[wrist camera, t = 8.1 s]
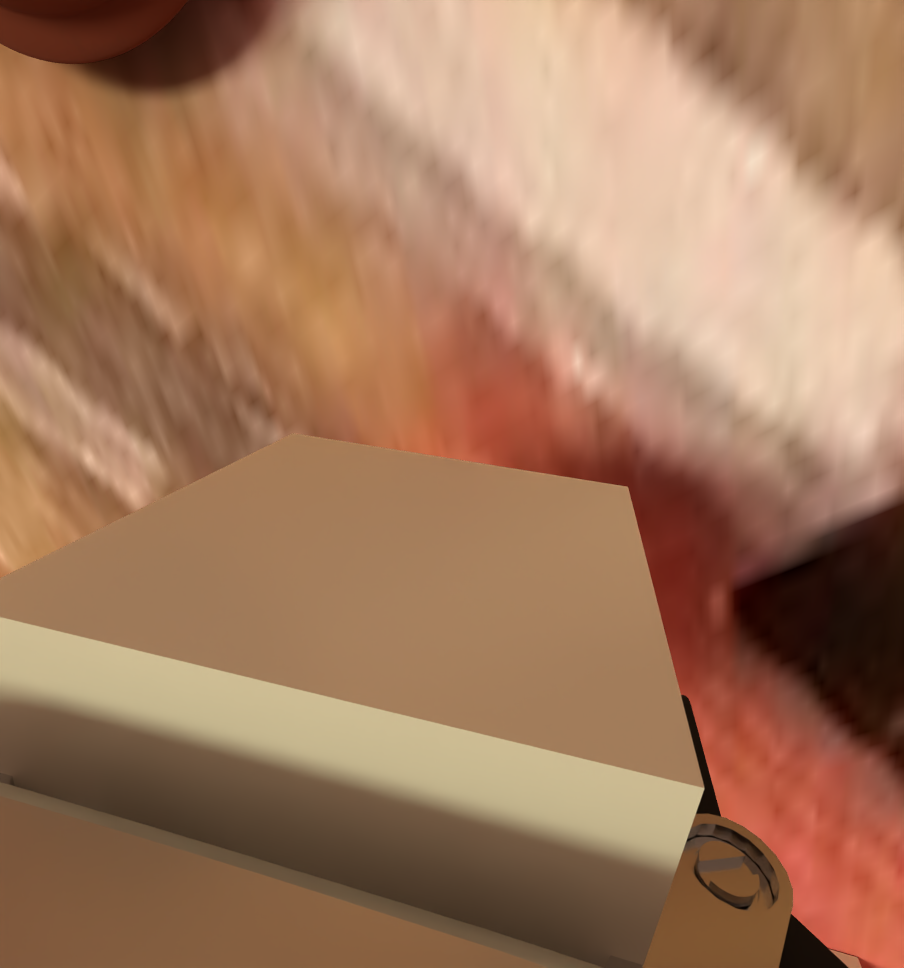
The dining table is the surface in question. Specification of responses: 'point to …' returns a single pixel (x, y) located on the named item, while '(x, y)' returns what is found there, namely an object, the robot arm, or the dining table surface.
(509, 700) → the cover cube
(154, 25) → the pottery
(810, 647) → the dining table surface
